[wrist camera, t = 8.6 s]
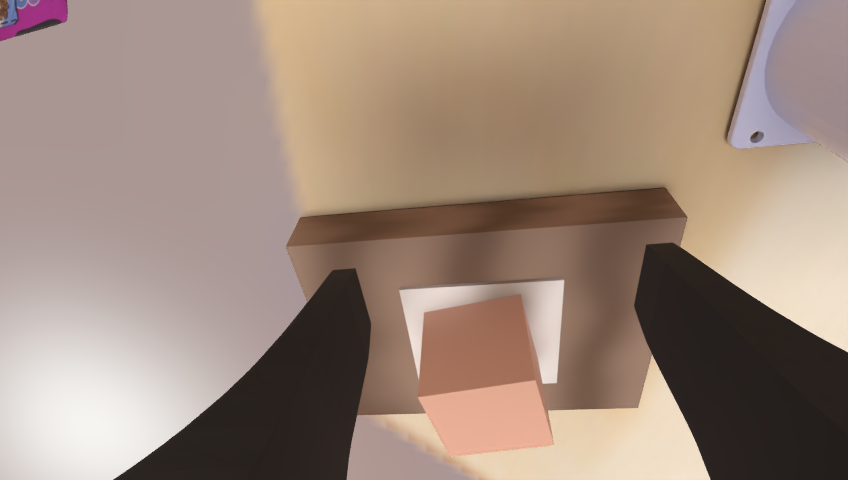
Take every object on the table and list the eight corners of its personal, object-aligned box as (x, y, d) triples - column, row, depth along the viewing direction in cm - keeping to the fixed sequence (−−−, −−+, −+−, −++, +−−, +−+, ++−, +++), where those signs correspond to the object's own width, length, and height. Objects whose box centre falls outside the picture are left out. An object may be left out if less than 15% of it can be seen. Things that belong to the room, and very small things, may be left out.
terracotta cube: (520, 294, 22) (535, 380, 18) (537, 357, 25) (554, 445, 21) (424, 312, 23) (417, 397, 19) (450, 371, 26) (450, 456, 22)
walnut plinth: (665, 187, 21) (689, 219, 19) (625, 373, 29) (639, 410, 27) (300, 217, 23) (284, 249, 21) (358, 382, 31) (351, 418, 29)
